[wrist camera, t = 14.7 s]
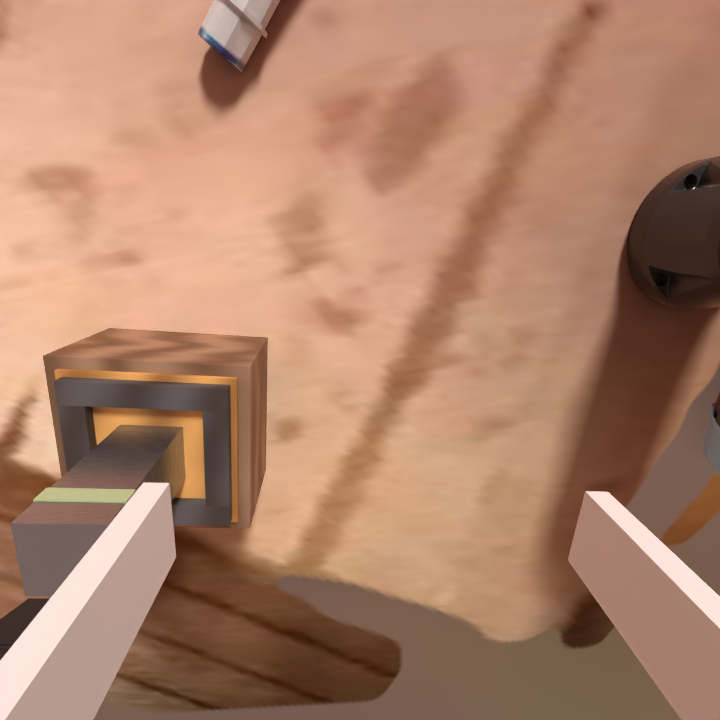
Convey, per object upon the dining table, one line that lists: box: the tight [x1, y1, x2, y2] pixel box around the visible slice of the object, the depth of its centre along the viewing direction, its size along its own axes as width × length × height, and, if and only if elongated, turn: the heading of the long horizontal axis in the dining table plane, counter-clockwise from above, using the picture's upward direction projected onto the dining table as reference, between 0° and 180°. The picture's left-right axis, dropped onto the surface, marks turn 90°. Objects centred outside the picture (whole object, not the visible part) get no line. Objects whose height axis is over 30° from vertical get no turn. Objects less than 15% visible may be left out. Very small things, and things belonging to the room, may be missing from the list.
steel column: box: [11, 425, 186, 596], centre depth 28 cm, size 5×5×12 cm
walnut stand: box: [43, 328, 268, 528], centre depth 39 cm, size 16×16×12 cm
